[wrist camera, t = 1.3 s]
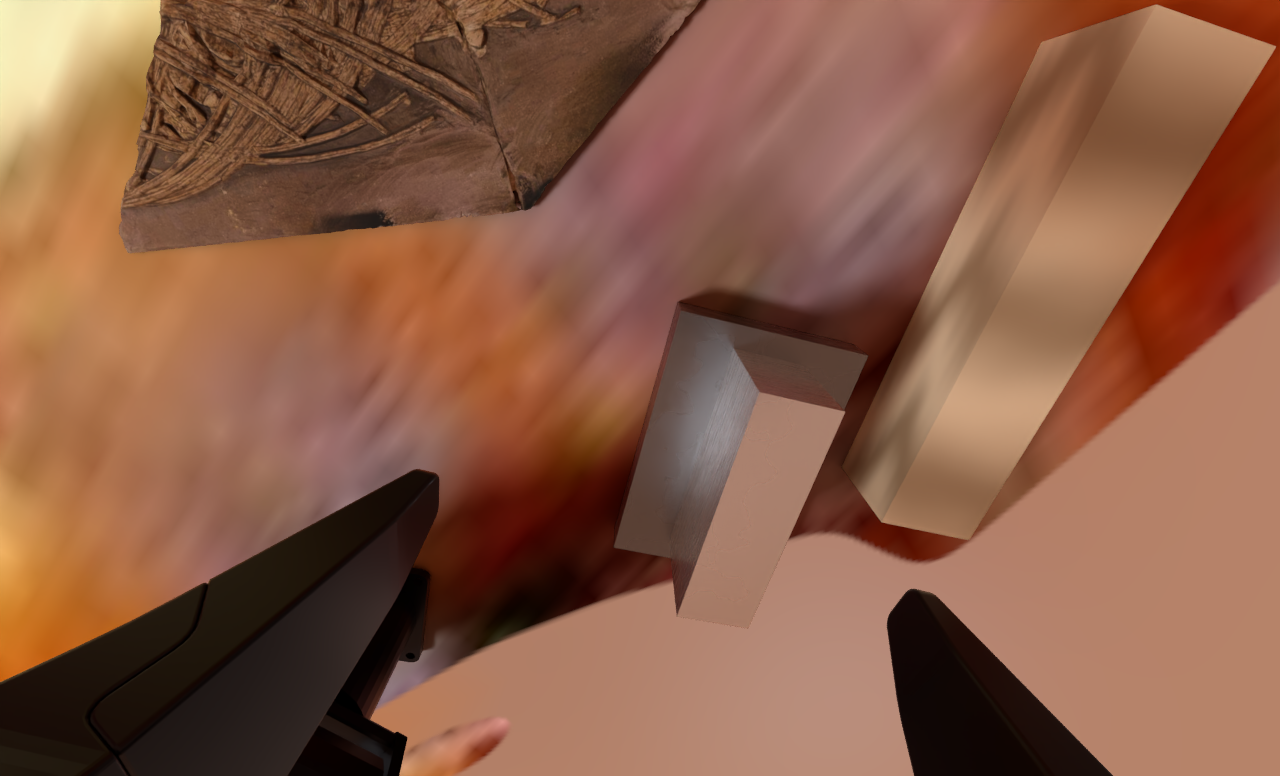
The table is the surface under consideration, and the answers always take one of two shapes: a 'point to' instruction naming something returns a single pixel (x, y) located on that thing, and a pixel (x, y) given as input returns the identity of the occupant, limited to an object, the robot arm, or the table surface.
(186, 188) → the wooden fragment
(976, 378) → the birch rod
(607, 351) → the table surface
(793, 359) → the balance ridge
